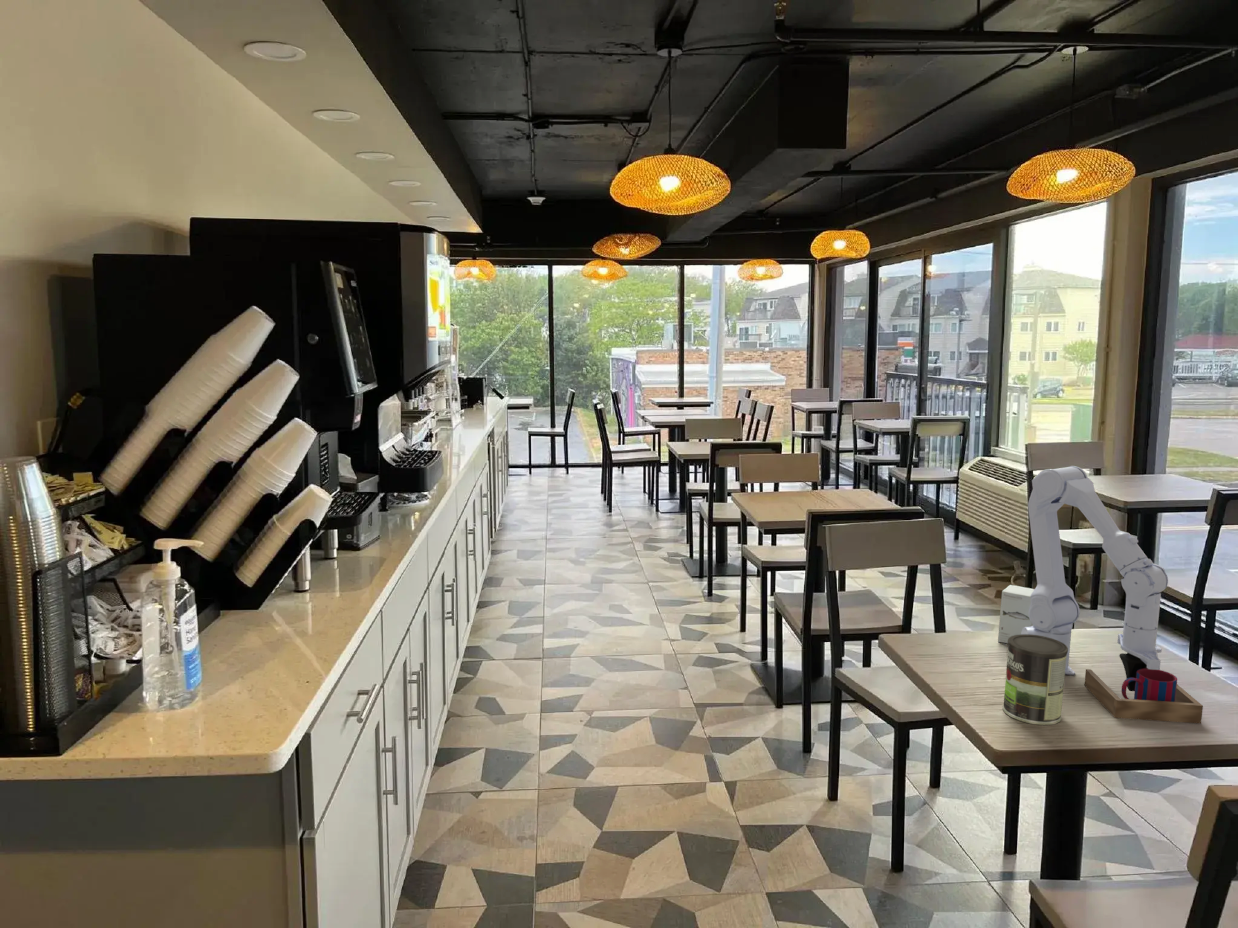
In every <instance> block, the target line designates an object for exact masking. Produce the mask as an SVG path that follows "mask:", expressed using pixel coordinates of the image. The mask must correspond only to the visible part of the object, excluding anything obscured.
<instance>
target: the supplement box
mask: <svg viewBox="0 0 1238 928" xmlns="http://www.w3.org/2000/svg"><path fill="white" fill-rule="evenodd" d="M1034 589H1035V588H1030V587H1025V586H1024V587H1023V586H1019V585H1013V584H1009V585H1008V586H1007V587H1006V588H1004V589H1003V590H1002V591H1001V599H1000V612H999V625H998V634H997V642H998V643H1003V644H1004V643H1005V644H1008V638H1009V637H1011V636H1014V635H1021V632H1022V629H1023V627H1031V626H1033V624H1032V623H1031V621H1030V619H1029V615H1028V611H1029V607H1030V605H1031V598H1030V596H1031V594H1032V592H1033V591H1034Z"/></svg>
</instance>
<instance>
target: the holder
mask: <svg viewBox="0 0 1238 928" xmlns="http://www.w3.org/2000/svg"><path fill="white" fill-rule="evenodd" d="M1084 674H1085V675H1084V687H1085V688H1086V689H1088V691H1089V692H1090V693H1091V694H1092V695H1093V696H1094V697H1095V698H1096V700H1098V702H1100V704H1101V705H1102V706H1103V707H1104V708H1105V709H1106V710H1107V711H1108V712H1109V713H1110V714H1111V715H1112V717H1114V718H1115V719H1125V720H1126V719H1129V720H1142V721H1144V720H1145V721H1157V722H1172V723H1173V722H1174V723H1175V722H1176V723H1185V724H1186V723H1189V724H1191V723H1192V724H1202V717H1203V709H1204V706H1203V704H1201V703H1200V702H1199V701H1198V700H1197V699H1196V698H1195V697H1193V696H1192V695H1191V694H1190V693H1189V692H1188V691H1186V690H1184V689H1183V688H1182V687H1181V686H1180V685H1179V684H1177V687H1176V696H1175V702H1167V701H1151V700H1135V699H1134V698H1129V699H1125V698H1121V697H1119V695H1117V694H1116V693H1115V692H1114V691H1113V690H1112V689H1111V688H1110V687H1109V686H1108V685H1107V683H1105V682H1104V680H1102V679H1101V677H1099V675H1097V674H1096V673H1095V672H1094V671H1093V670H1092V669H1091V668H1090V669H1089V668H1087V669H1085V673H1084Z"/></svg>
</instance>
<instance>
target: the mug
mask: <svg viewBox="0 0 1238 928" xmlns="http://www.w3.org/2000/svg"><path fill="white" fill-rule="evenodd" d="M1131 681H1136V684H1135V691H1134V695H1133V699H1135V700H1151V701H1167V702H1175V696H1176V687H1177V685H1178V677H1177V676H1176V675H1174V674H1173V673H1170V672H1168V671H1165V670H1161V669H1160V670H1152V669H1148V668H1144V669H1139V670H1137V674H1136V678H1127V679H1125V680H1124V681H1123V682H1122V685H1121V695H1122V697H1123V699H1130V698H1129V697H1128V695H1127V689H1128V688H1127V685H1128V683H1130V682H1131Z"/></svg>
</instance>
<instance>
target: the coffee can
mask: <svg viewBox="0 0 1238 928" xmlns="http://www.w3.org/2000/svg"><path fill="white" fill-rule="evenodd" d="M1067 652H1068V647H1067V646H1066V645H1065V644H1064V643H1062V642H1060V641H1058V640H1055V639H1052V638H1049V637H1044V636H1039V635H1030V634H1021V635H1014V636H1011V637H1009V638H1008V643H1007V655H1006V656H1007V657H1006V668H1005V669H1006V672H1005V683H1004V693H1003V706H1002V711H1003V712H1004V713H1005V714H1006V715H1008V716H1009V717H1010V718H1013V719H1014V720H1016V721H1019V722H1022V723H1026V724H1030V725H1037V726H1051V725H1055V724H1058V723H1059V722H1061V721H1062V706H1063V697H1064V688H1065V687H1064V685H1065V676H1066V674H1065V667H1066V656H1067Z"/></svg>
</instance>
